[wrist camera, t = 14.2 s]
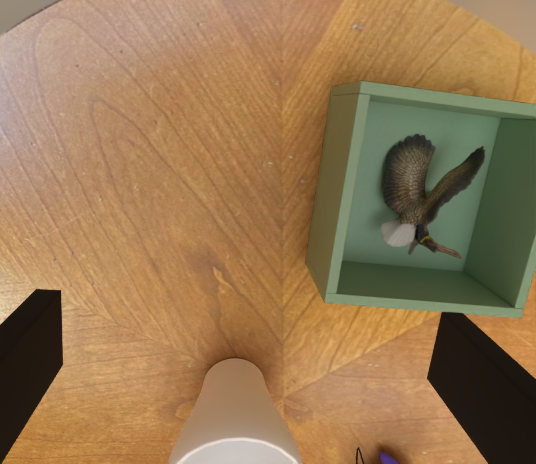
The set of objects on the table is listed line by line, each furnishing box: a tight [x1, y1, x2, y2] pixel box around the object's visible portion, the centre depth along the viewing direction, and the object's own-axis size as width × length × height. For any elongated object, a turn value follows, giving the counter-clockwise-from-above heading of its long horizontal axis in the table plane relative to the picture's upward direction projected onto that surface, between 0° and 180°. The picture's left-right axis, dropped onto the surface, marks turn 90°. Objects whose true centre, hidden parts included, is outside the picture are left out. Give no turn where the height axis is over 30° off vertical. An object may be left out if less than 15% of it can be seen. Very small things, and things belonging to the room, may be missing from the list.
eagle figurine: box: [381, 134, 486, 259], centre depth 37 cm, size 8×7×9 cm
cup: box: [168, 358, 303, 464], centre depth 38 cm, size 10×10×14 cm
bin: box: [305, 81, 536, 318], centre depth 36 cm, size 16×16×9 cm
